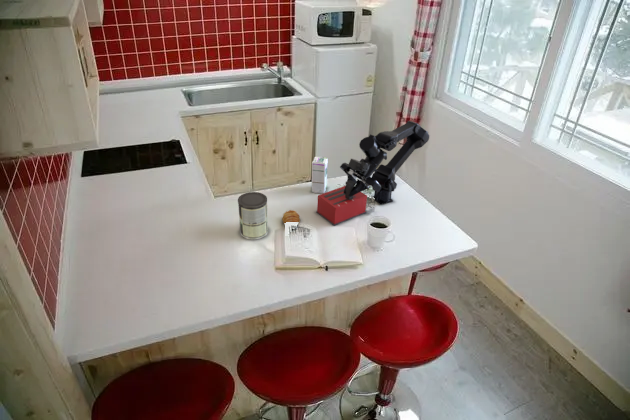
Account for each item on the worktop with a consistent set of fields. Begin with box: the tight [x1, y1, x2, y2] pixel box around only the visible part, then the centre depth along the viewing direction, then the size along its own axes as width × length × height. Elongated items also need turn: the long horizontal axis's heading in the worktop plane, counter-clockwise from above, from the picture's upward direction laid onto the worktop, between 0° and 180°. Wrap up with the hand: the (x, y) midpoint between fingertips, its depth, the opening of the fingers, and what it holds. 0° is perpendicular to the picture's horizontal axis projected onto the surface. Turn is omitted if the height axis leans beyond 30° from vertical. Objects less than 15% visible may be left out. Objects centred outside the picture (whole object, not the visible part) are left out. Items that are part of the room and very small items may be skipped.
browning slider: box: [345, 180, 355, 200], centre depth 167 cm, size 2×3×7 cm
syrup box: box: [311, 156, 329, 194], centre depth 186 cm, size 6×6×14 cm
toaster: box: [316, 185, 368, 227], centre depth 173 cm, size 16×11×8 cm
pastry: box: [281, 209, 301, 224], centre depth 166 cm, size 9×7×4 cm
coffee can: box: [237, 191, 269, 241], centre depth 158 cm, size 10×10×14 cm
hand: (346, 194), depth 167 cm, fingers closed on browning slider, 2 cm apart
